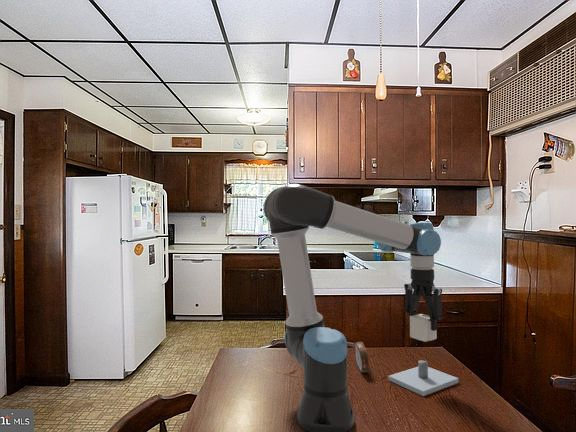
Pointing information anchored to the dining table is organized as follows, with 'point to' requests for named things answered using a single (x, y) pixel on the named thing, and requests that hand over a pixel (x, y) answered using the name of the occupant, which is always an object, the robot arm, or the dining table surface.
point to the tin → (362, 357)
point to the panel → (423, 379)
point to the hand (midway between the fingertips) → (423, 337)
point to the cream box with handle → (420, 327)
